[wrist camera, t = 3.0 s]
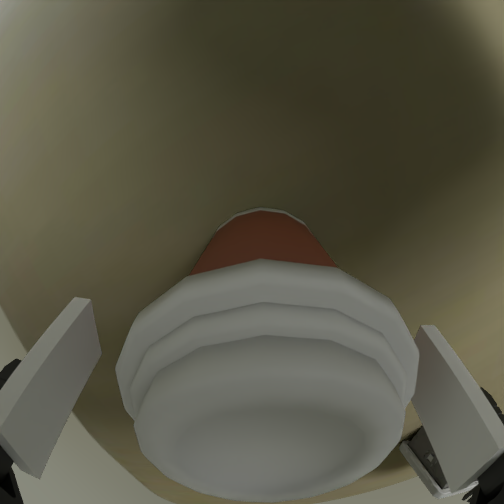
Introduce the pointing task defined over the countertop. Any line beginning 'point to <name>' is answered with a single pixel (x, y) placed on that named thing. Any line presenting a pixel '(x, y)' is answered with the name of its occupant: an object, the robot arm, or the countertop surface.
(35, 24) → the countertop surface
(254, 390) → the coffee cup
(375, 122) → the countertop surface
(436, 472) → the electrical switch
